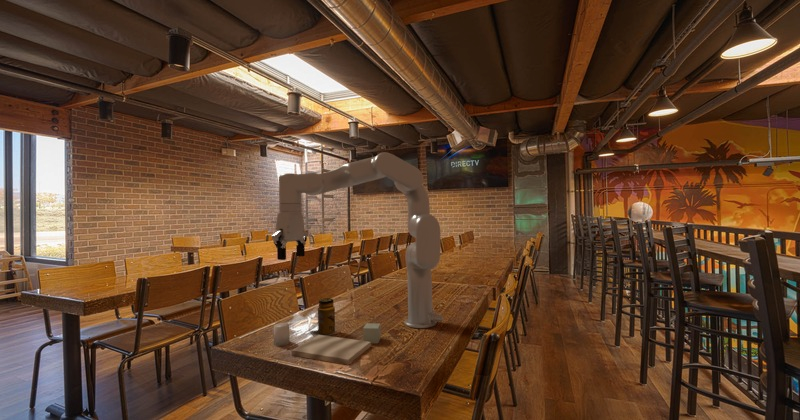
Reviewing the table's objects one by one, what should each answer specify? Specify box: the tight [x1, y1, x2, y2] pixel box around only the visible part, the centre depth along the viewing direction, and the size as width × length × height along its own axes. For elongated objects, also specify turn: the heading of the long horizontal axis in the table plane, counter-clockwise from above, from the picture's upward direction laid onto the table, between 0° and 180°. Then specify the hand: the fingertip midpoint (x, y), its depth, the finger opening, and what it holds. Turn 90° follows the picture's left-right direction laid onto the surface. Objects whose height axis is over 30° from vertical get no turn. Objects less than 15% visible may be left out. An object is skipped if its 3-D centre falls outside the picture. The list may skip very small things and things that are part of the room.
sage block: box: [362, 322, 382, 344], centre depth 113 cm, size 5×5×5 cm
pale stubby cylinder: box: [273, 322, 291, 347], centre depth 112 cm, size 5×5×6 cm
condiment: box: [309, 297, 339, 337], centre depth 122 cm, size 7×8×12 cm
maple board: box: [291, 335, 372, 365], centre depth 105 cm, size 20×14×2 cm
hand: (291, 257), depth 117 cm, fingers open, 9 cm apart
